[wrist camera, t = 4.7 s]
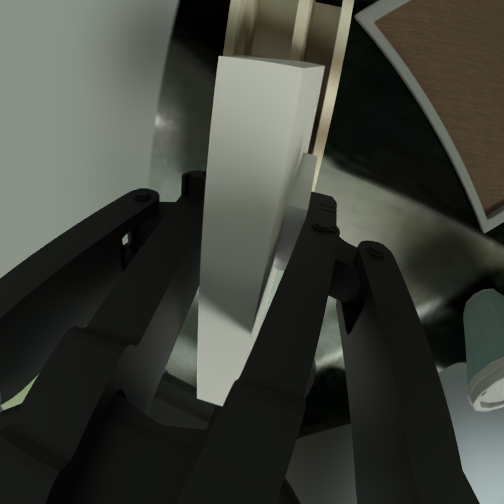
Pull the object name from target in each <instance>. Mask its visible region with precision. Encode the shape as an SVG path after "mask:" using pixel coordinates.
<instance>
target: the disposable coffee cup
mask: <svg viewBox="0 0 504 504" xmlns="http://www.w3.org/2000/svg"><path fill="white" fill-rule="evenodd" d="M463 319H464V329H465V341H466V355H467V377H468V379H467V380H468V386H467V387H466V389H465V391H466V394H467V396H468V399H469V402H470V404H471V405H473V407H474V410H476V411H490V410H494V409H498V408H502V407H504V296H503V295H502V294H500V293H499V292H497V291H496V290H494V289H483V290H481V291H479V292H477V293H475V294H473V296H472V297H471V298H470V299H469V300H468V301H467V302H466V305H465V308H464V313H463Z"/></svg>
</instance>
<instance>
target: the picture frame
mask: <svg viewBox="0 0 504 504" xmlns="http://www.w3.org/2000/svg"><path fill="white" fill-rule="evenodd" d="M354 18H355V19H356V20H357V22H358V23H359V24H360V25H361V26H362V28H363V29H364V30H365V31H366V32H367V34H368V35H369V36H370V37H371V38H372V40H373V41H374V42H375V43H376V45H377V46H378V47H379V48H380V50H381V51H382V52H383V54H384V55H385V56H386V58H387V59H388V60H389V62H390V63H391V64H392V66H393V67H394V69H395V70H396V71H397V73H398V74H399V76H400V77H401V78H402V80H403V81H404V83H405V84H406V86H407V87H408V89H409V90H410V92H411V93H412V95H413V96H414V98H415V99H416V101H417V103H418V104H419V106H420V107H421V109H422V111H423V112H424V114H425V115H426V117H427V119H428V120H429V122H430V124H431V126H432V127H433V129H434V131H435V133H436V134H437V136H438V138H439V140H440V142H441V143H442V145H443V147H444V149H445V151H446V153H447V155H448V157H449V159H450V160H451V162H452V164H453V166H454V168H455V171H456V173H457V175H458V177H459V179H460V181H461V183H462V185H463V187H464V190H465V192H466V194H467V196H468V199H469V201H470V203H471V206H472V208H473V210H474V213H475V215H476V218H477V220H478V223H479V225H480V228H481V230H482V231H483V232H484V233H486V232H488V231H489V230H491V229H493V228H494V227H496V226H498V225H499V224H501V223H503V222H504V0H378V1H376V2H375V3H373V4H371V5H370V6H368V7H366V8H365V9H363V10H361V11H360V12H358V13H357V14H356V15H355V16H354Z"/></svg>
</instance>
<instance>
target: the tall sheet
mask: <svg viewBox="0 0 504 504" xmlns="http://www.w3.org/2000/svg"><path fill="white" fill-rule="evenodd" d="M324 70H325V66H323V65H319V64H314V63H309V62H303V61H294V60H284V59H272V58H258V57H236V56H219V58H218V66H217V74H216V83H215V91H214V100H213V109H212V119H211V129H210V139H209V150H208V161H207V173H206V185H205V198H204V212H203V228H202V244H201V263H200V285H199V311H198V350H197V399H200V400H203V401H207V402H210V403H213V404H216V405H220V406H223V404H224V402H225V400H226V397H227V395H228V393H229V391H230V389H231V387H232V385H233V383H234V382H235V380H238V378H239V377H240V375H241V373H242V370H243V368H244V366H245V364H246V361H247V359H248V357H249V354H250V352H251V350H252V347H253V345H254V343H255V340H256V338H257V336H258V333H259V330H260V327H261V324H262V320H263V317H264V314H265V310H266V307H267V303H268V300H269V297H270V293H271V290H272V286H273V283H274V280H275V276H276V273H277V269H276V268H273V265H274V261H275V256H276V252H277V247H278V242H279V238H280V233H281V229H282V224H283V219H284V215H285V210H286V205H287V202H288V199H289V196H290V193H291V190H292V187H293V184H294V181H295V178H296V175H297V172H298V169H299V166H300V163H301V160H302V156H303V153H308V149H309V144H310V140H311V135H312V130H313V125H314V120H315V116H316V111H317V106H318V101H319V96H320V91H321V86H322V81H323V75H324Z"/></svg>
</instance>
